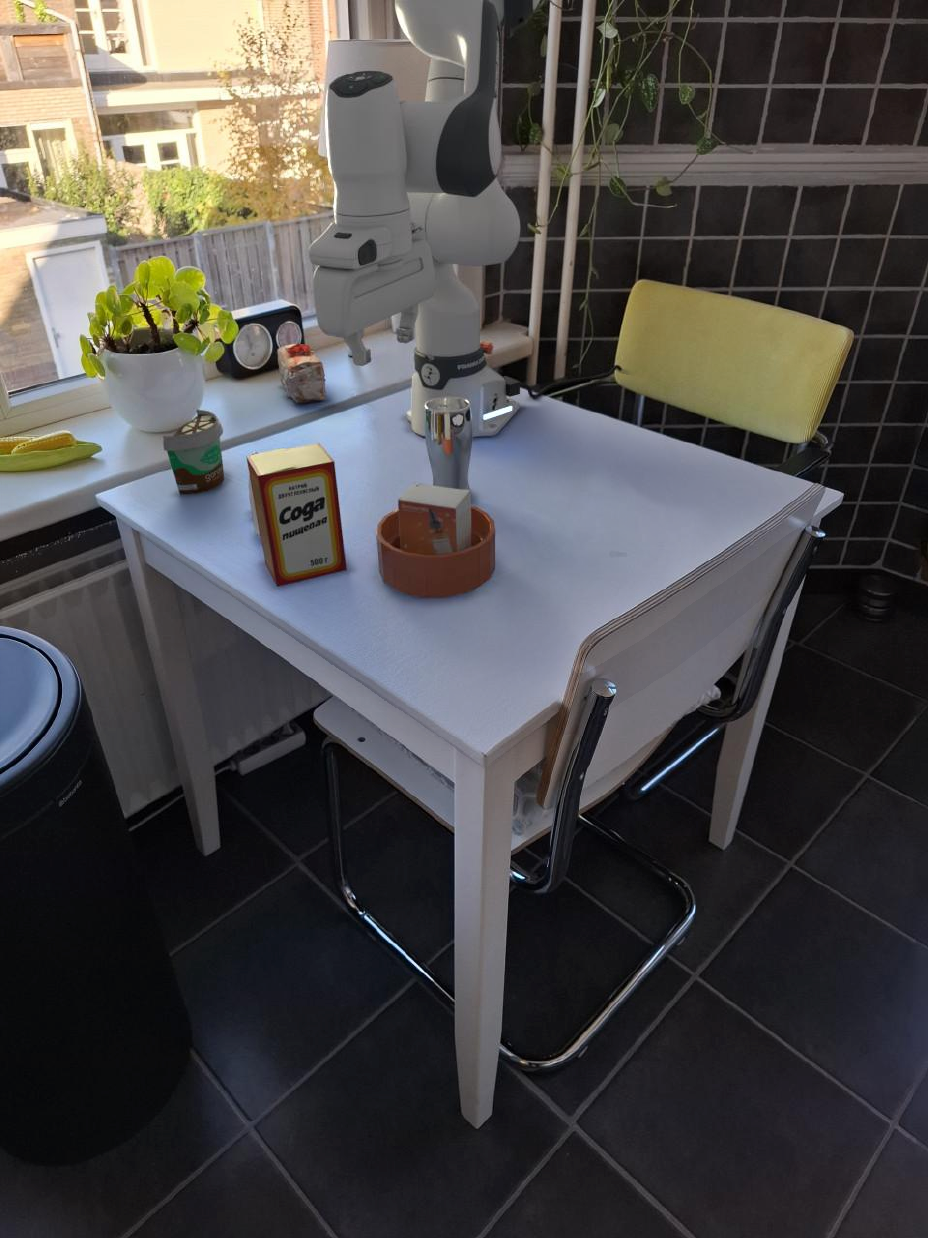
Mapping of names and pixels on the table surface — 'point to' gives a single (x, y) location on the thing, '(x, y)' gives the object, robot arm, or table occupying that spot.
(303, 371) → the food item
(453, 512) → the small box
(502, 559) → the table surface
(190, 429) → the food container
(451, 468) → the beer glass
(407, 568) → the bowl
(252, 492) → the shaker set
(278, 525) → the baking soda box
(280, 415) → the table surface
